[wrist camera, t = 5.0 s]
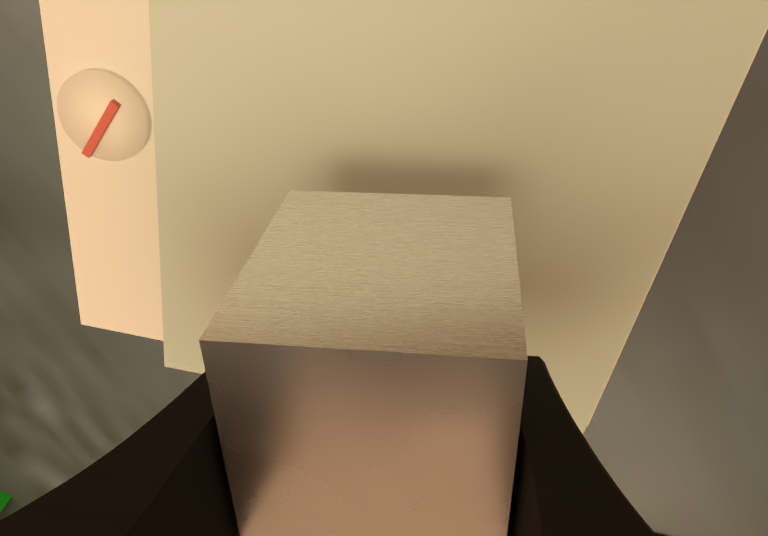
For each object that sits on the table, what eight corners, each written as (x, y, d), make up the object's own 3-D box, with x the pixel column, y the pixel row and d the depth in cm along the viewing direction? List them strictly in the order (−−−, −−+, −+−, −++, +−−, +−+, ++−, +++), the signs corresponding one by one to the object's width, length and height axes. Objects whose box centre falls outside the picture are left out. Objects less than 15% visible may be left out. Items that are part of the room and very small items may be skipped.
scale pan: (780, -55, 13) (801, -50, 12) (572, 426, 21) (576, 449, 20) (161, -166, 14) (141, -168, 13) (177, 346, 21) (164, 366, 20)
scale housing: (773, -108, 16) (838, -104, 13) (576, 369, 25) (589, 437, 22) (78, -231, 17) (-8, -254, 14) (121, 278, 25) (73, 332, 22)
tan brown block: (511, 197, 13) (527, 359, 8) (495, 373, 15) (502, 571, 11) (289, 190, 13) (198, 339, 9) (307, 361, 15) (242, 545, 11)
